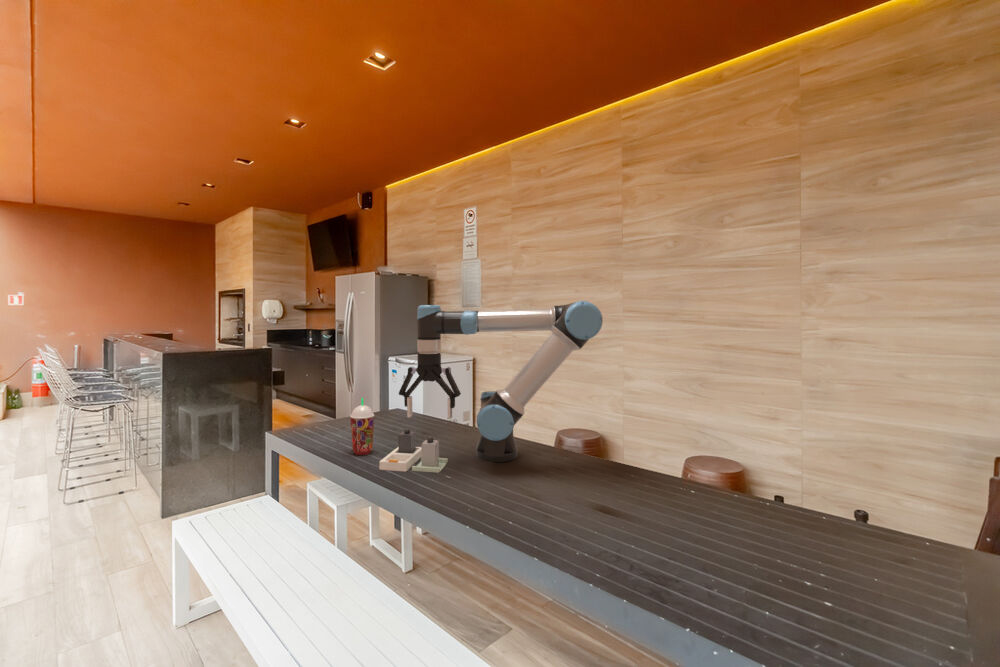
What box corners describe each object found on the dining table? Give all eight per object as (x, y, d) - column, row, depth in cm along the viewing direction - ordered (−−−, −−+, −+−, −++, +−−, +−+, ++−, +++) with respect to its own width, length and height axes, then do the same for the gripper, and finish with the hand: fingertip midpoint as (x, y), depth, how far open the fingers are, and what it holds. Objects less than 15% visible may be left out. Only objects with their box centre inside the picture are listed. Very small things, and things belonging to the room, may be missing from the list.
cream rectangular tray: (423, 455, 159) (423, 426, 158) (406, 472, 142) (406, 439, 141) (399, 454, 160) (399, 425, 159) (379, 470, 143) (379, 438, 143)
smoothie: (370, 456, 157) (370, 400, 156) (346, 456, 157) (346, 399, 156) (377, 449, 165) (377, 395, 164) (355, 449, 165) (354, 395, 164)
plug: (438, 464, 149) (439, 436, 148) (434, 468, 144) (434, 439, 144) (425, 463, 149) (425, 435, 149) (421, 468, 145) (421, 439, 144)
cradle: (447, 463, 151) (447, 458, 151) (439, 473, 141) (439, 468, 141) (422, 461, 152) (422, 456, 152) (411, 471, 143) (411, 466, 142)
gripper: (469, 352, 147) (469, 415, 148) (397, 351, 151) (397, 413, 152) (463, 354, 139) (464, 421, 140) (388, 353, 143) (388, 418, 144)
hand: (429, 417), depth 146 cm, fingers open, 13 cm apart
